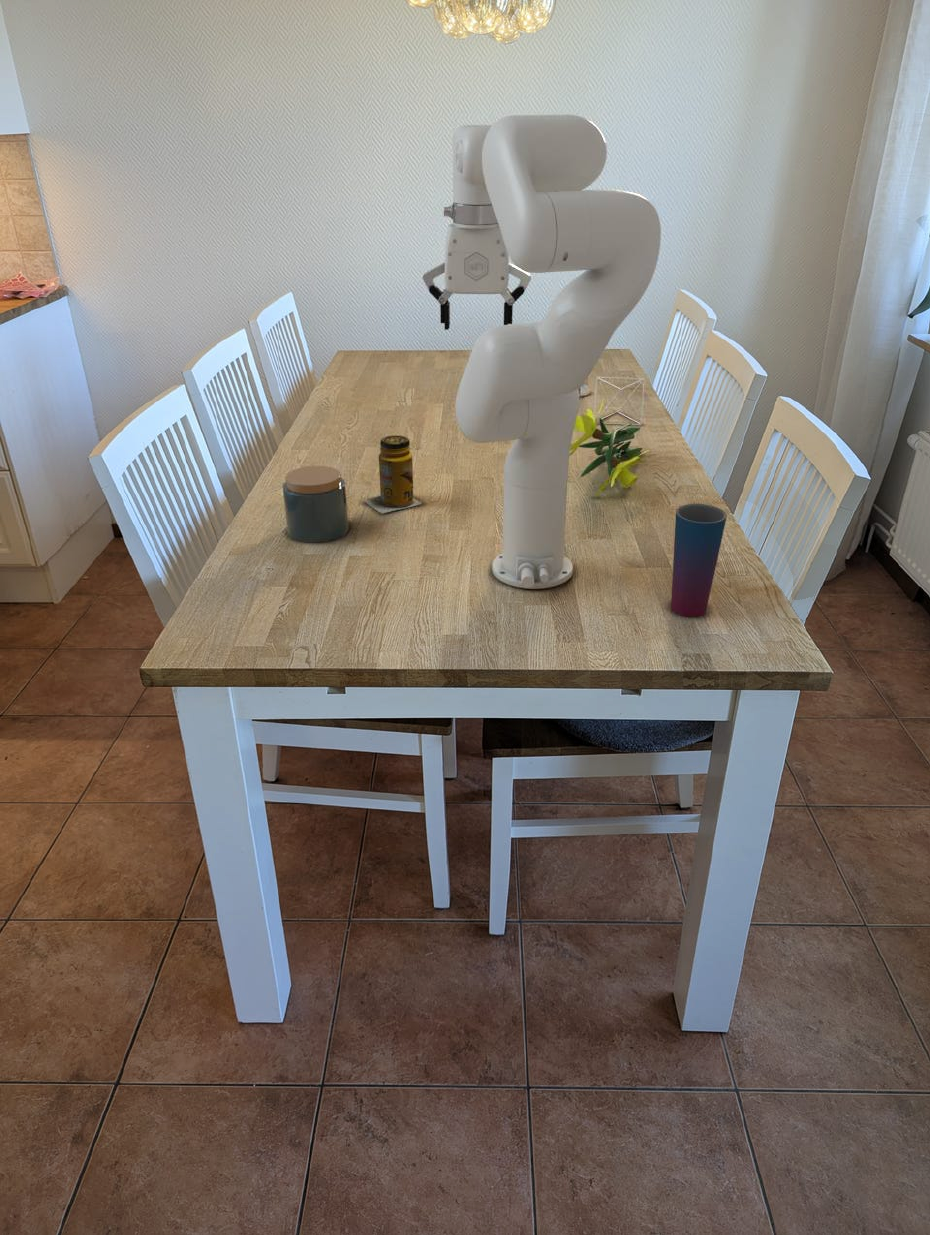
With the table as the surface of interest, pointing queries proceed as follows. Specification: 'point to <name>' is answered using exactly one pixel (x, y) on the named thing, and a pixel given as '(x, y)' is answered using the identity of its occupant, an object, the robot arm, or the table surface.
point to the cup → (695, 556)
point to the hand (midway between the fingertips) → (476, 328)
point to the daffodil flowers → (611, 454)
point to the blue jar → (315, 504)
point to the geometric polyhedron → (616, 395)
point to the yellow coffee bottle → (394, 476)
